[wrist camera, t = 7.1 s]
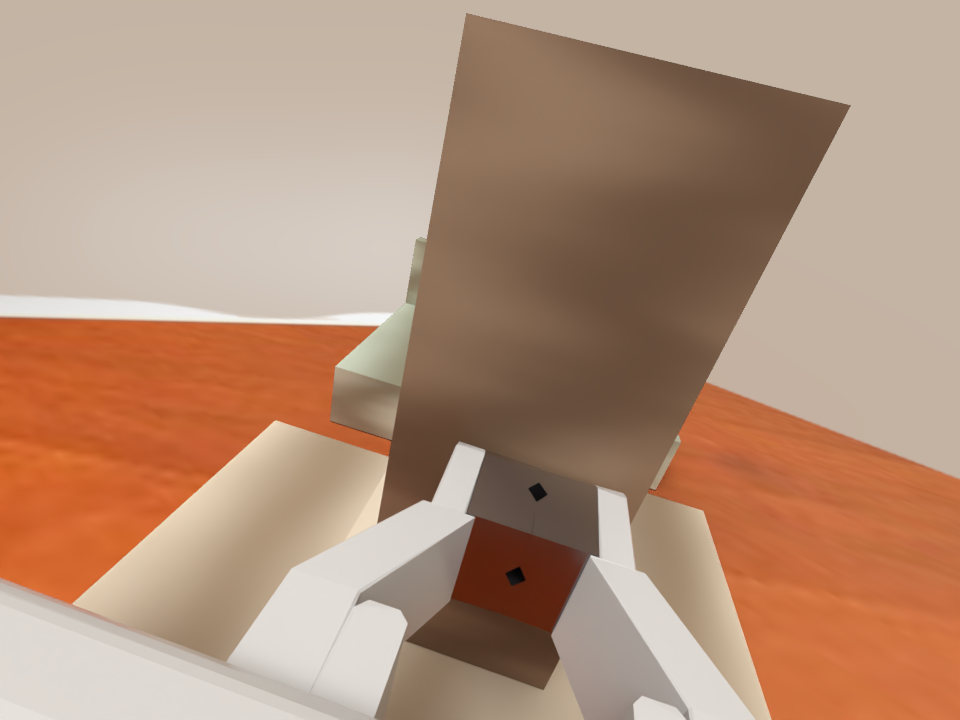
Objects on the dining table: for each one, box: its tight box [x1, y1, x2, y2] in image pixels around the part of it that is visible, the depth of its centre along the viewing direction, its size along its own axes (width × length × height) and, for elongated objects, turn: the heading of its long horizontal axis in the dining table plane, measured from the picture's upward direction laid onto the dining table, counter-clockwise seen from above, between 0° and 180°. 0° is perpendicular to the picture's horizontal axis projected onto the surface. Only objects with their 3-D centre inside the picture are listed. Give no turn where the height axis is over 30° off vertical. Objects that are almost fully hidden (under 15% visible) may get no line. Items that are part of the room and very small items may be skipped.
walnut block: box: [377, 14, 850, 690], centre depth 12 cm, size 4×9×12 cm, turn 168°
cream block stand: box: [72, 237, 771, 720], centre depth 18 cm, size 16×24×7 cm, turn 168°
